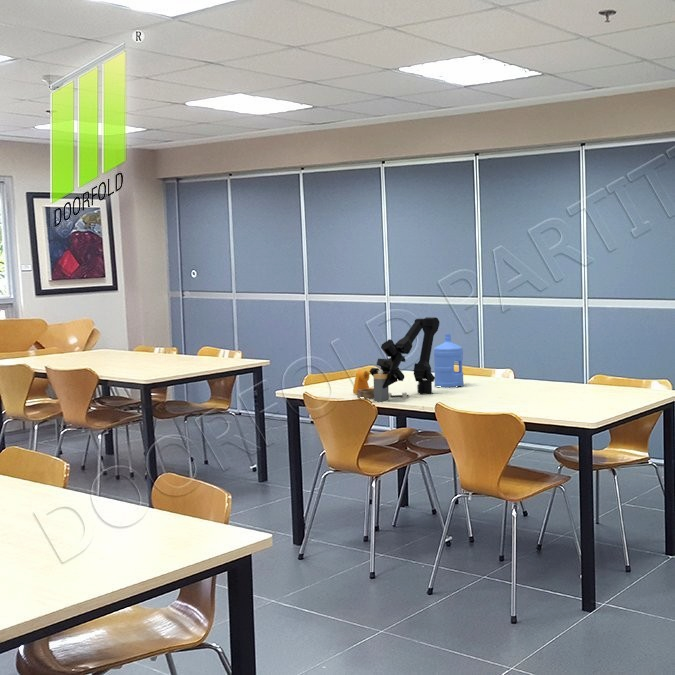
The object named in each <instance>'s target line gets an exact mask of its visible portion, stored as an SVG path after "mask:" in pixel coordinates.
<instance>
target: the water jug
mask: <svg viewBox="0 0 675 675" xmlns="http://www.w3.org/2000/svg"><path fill="white" fill-rule="evenodd" d="M451 335H452V334H450V333H449V334H444V342H442V343H441V344H439V345H437V346H435V347H434V348H433V359H434V360H433V363H434V364H433V365H434V366H433V370H434V377H435V379H434V387H436V386H441V387H456V386H462V387H463V386H464V385H465V384H464V382H465V381H464V371H463V358H464V350H463V347H462V346H461V345H458V344H456V343H454V342H452V338H451V337H452V336H451ZM455 362H458V371H455V365H454V364H455ZM456 388H457V387H456Z"/></svg>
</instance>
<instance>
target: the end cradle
mask: <svg viewBox="0 0 675 675" xmlns="http://www.w3.org/2000/svg"><path fill="white" fill-rule="evenodd" d="M356 395H357V398H358V399H360V397H364V398H369V399H368V400H374V399H373V398H374V389H357V394H356Z"/></svg>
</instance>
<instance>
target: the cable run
mask: <svg viewBox="0 0 675 675" xmlns="http://www.w3.org/2000/svg"><path fill="white" fill-rule="evenodd" d="M407 396H409V394H407ZM409 397H410V396H409ZM391 398H404V397H403V396H402V394H398V395H395V394H393V395H391Z"/></svg>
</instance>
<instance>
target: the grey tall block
mask: <svg viewBox="0 0 675 675" xmlns="http://www.w3.org/2000/svg"><path fill="white" fill-rule="evenodd" d="M386 379H387V374H383V370H380V371H378V374H374V377H373V388H374V399H373V401H374V402H378V403H380V402H381V403H383V402H385V403H386V402H389V401H390V400H389V399H390V398H389V393H390V392H389V386H388V387H386V388H384V389H383V385H384V383H385V381H386Z"/></svg>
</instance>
